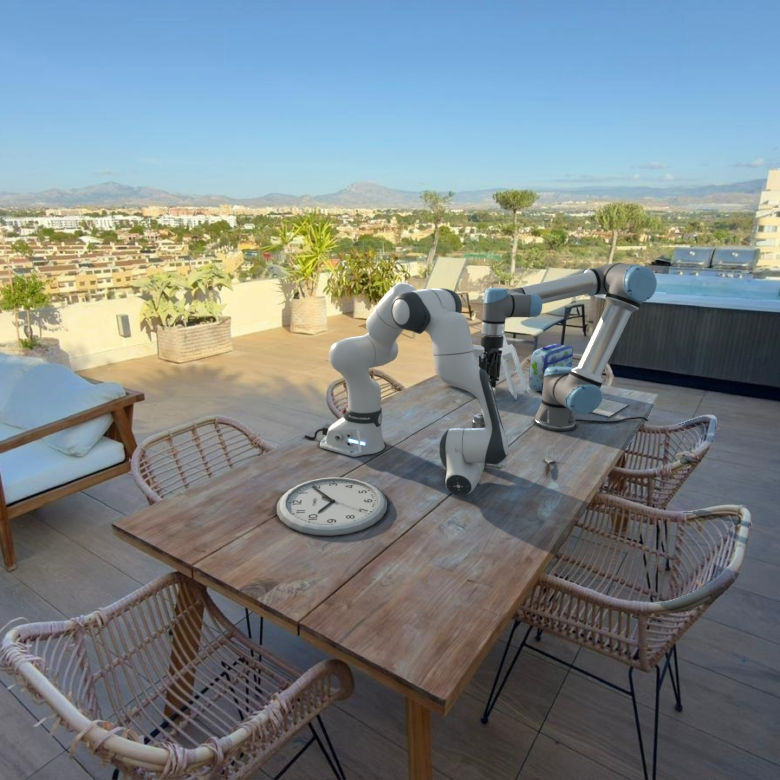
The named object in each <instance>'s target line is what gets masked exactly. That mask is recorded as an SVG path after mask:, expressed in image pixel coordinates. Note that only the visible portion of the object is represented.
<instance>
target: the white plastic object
mask: <svg viewBox="0 0 780 780" xmlns="http://www.w3.org/2000/svg"><path fill="white" fill-rule="evenodd" d="M502 336H503V337H504V339H503V346H502V347H501V348H498V349H499V350H502V355H501V364H500V366H502V370H503V373H504V376H505V380H506V383H507V386H508V390H509V393H510V394H511V395H512V397H513V398H514V399H515V400H517V392H516V391H517V390H516V388H515V385H514V381H513V378H512V375H511V371H510V369H509V365H508V361H510V360H513V363H514V366H515V369H516V372H517V376H518V380H519V382H520V385H521V389H522V391H523V393H524V395H525V396H526V397H528V396H531V395H530V390H529V388H528V387H529V386H528V384H527V381H526V378H525V375H524V371H523V369H522V368H523V367H522V366H521V362H520V359H519V355H518V352H517V349H516V347H515V346H514V345H513V343H511V344H508V341H507V337H506V334H505V333H504V335H502ZM483 351H484V347H482V346H481V345H480V344H479V345H473V353H474V358H475V360H476V363H477V364H478V366H479V356H482V355H483ZM441 381H442V383H443V384H444V385H445V386H450V385H449V384H447V383H446V382H444V381H443V380H441Z"/></svg>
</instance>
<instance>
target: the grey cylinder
mask: <svg viewBox="0 0 780 780" xmlns="http://www.w3.org/2000/svg"><path fill="white" fill-rule="evenodd" d="M473 415H474V416H473V419H472V422H471V428H485V427H486V426H485V422H484V418H483V414H482V413H476V414H473Z"/></svg>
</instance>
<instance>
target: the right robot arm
mask: <svg viewBox="0 0 780 780" xmlns="http://www.w3.org/2000/svg"><path fill="white" fill-rule="evenodd" d="M657 285H658V280H657V278H656V274H655V272H654V271H653V270H652V269H651V268H649V267H648V266H645V265H642V264H634V263H633V264H632V263H623V262H614V263H608V264H604V265H600V266H597V267H593V268H588V269H585V270H584V272H583V273H579V274H575V275H569V276H565V277H560V278H556V279H551V280H547V281H542V282H538V283H533V284H529V285H524V286H520V287H516V288H511V289H510V288H504V287H487V288H486V289H485V291H484V296H483V301H482V319H481V324H480V326H481V335H480V342H479V345H481V346H482V347H484V351H483V355H482V356H479V367H480V368H481V369H483V370H485V371H486V372H487V374H488V376H489V379H490V382H491V385H492V387H494V388H495V389H496V387H497V382H499V381H500V376H501V375H500V374H501V365H502V363H501V355H502V350H499V349H500V348H503V339H504V337H503V336H502V335H504V334H505V330H506V329H505V328H506V318H528V319H530V318H537V317H539V316H540V315H541V313H542V311H543V304H548V303H552V302H558V301H561V300H566V299H570V298H575V297H579V296H580V297H581V296H585V295H587V296H589V297H593V296H598V295H599V296H600V295H603V296H604V295H605V296H604V299H605V301H606V305H605V307H604V309H603V311H602V314H601V315H600V318H599V320H598V322H597V324H596V326H595V328H594V331H593V333H592V335H591V337H590V339H589V341H588V343H587V345H586V348H585V349H584V352H583V354H582V356H581V358H580V360H579V362H578V364H577V366H576V367H573V366H572V367H559V366H558V367H548V368H547V369H546V370H545V373H544V382H543V391H541V393H542V394H541V402H540V405H539V407H538V410H537V411H536V413H535V416H534V424H535V425H536V426H537V427H539V428H542V429H544V430H549V431H556V432H567V431H572V430H574V429H575V428H576V422H579V423H581V422H582V423H596V424H597V423H598V424H615V423H616V424H617V423H621V422H624V421H628V420H629V421H630V420H641V419H642V420H644V421H646V422H649V419H648V418H646V417H645V416H633V417H625V418H622V419H618V420H596V419H595V420H593V419H576V418H575V417H576V416H575V414H578V415H587V414H590V413H592V412H593V411H594V410H595V409H597V407H598V406H599V405H600V403H601V401H602V399H603V393H602V390H601V388H602V386H603V384H604V381H603V378H602V375H603V373H604V371H605V369H606V367H607V365H608V363H609V360H610V359H611V356H612V354H613V353H614V350H615V348H616V346H617V344H618V342H619V340H620V338H621V336H622V334H623V332H624V329H625V327H626V325H627V323H628V321H629V319H630V317H631V314H632V313H633V312H636V311H637V310H639V309H640V307H641V305H642V303H644V302H647V301H648V300H650V299H651V298H652V297H654V295H655V292H656V290H657ZM500 364H501V365H500ZM494 396H495V397H496V394H495V395H494Z"/></svg>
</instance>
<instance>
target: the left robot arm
mask: <svg viewBox="0 0 780 780" xmlns="http://www.w3.org/2000/svg"><path fill="white" fill-rule="evenodd" d="M462 311H463V303H462V299H461V297H460V295H459V294H458V293H457V292H456V291H454V290H452V289H449V288H424V289H418V290H417V288H416V287H414V286H413V285H412V284H409V283H406V282H399V283H396V284H394V285H393V286H392V287H391V288H390V289H389V290H388V291H387V292H386V293H384V295H383V296H382V297H381V299H380V300H379V301H378V302H377V304H376V306H375V307H374V309H373V310H372V312H370V313H369V316H368V317H367V318H366V321H365V327H366V331H367V333H365V334H363V335H358V336H351V337H346V338H343V339H340V340H337V341H335V342H334V343H333V344H331V346H330V348H329V351H328V359H329V364H330V365H331V366H332V368H333V370H335V371H336V372H338V373H339V374H340V375H341V376H342V378H343V379H344V381H345V385H346V389H347V390H346V391H347V404H346V405H345V407H344V408H342V410H341V411H340V412H341V413H340V414H341V415H343V416H342V417H340V418H339V419H337V420H336V421H335V422H333V423H332V424H331V423H326V424H325V425H324V426H322V428H319V429H317V430H315V432H314V435H313V436H311V435H306V434H305V435H304V438H305V439H309V440H315V439H316V438H317V437H318V433H319V432H321V433H322V436H324V437H323V438H322V439H321V440H320V443H319V447H320V449H324V450H327V451H331V452H335V453H338V454H342V455H345V456H348V457H353V458H355V457H360V456H361V457H362V456H365V455H366V456H367V455H372V454H373V455H374V454H377V453H380V452H381V451H383V450H384V449H385V447H386V445H385V441H384V436H383V431H382V422H383V411H382V410H383V408H382V407H381V405H382V404H381V402H382V401H381V400H382V395H381V394H382V388H381V386H380V384H379V382H377V381H376V380H375V379H373V378H371V375H370V369H373V368H377V367H382V366H383V367H384V366H385V365H387V364H390V363H391V362H393V361H395V360H396V359H397V356H398V354H399V344H398V341H397V339H398V338H399V337H400V335H401V334H402V333H403V332H404V330H405V331H409V332H412V333H415V334H418V335H421V334H423V333H424V332H426V333H427V334H428V336H429V337H430V340H431V352H432V360H433V367H434V371H435V374H436V375H437V377H438V378H439V379H440V381H442V380H443V381H444V382H446V383H447V384H449V385H448V386H452V387H455V388H458V389H461V390H464V391H466V392H469V393H470V394H472V395H473V396H474V397H475V398H476V399H477V400H478V403H479V406H480V410H481V414H483V418H484V422H485V426H486V427H485V428H472V427H454V428H452V427H451V428H448V429H447V430H446V431H445V432H444V433H443V435H442V436H441V439H440V441H439V451H438V452H439V458H440V461H441V468H442V469H444V470H446V474H445V480H444V481H445V482H444V483H445V487H446V489H447V490H448V491H449V492H450V493H451V494H453V495H455V496H459V497H465V496H468V495H470V494H471V493H472V492H473V491H475V489H476V487H477V485H478V483H479V481H480V480H481V479H480V478H481V476H482V475H483V472H484V470H485V468H486V469H491V470H492V469H493V470H502V469H505V468H506V467H507V465H508V458H509V440H508V438H507V435H506V431H505V429H504V426H503V423H502V419H501V414H500V411H499V408H498V404H497V400H496V395H495V396H494V392H493V389H492V385H491V382H490V379H489V376H488V374H487V372H486V371H485V370H483V369H481V368H480V367H479V366H478V364H477V363H476V360H475V358H474V353H473V347H474V345H473V339H472V333H471V329H470V325H469V322H468V318H467V317H466V315H464V314H463V313H462ZM443 381H442V382H443ZM444 382H443V383H444Z"/></svg>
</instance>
